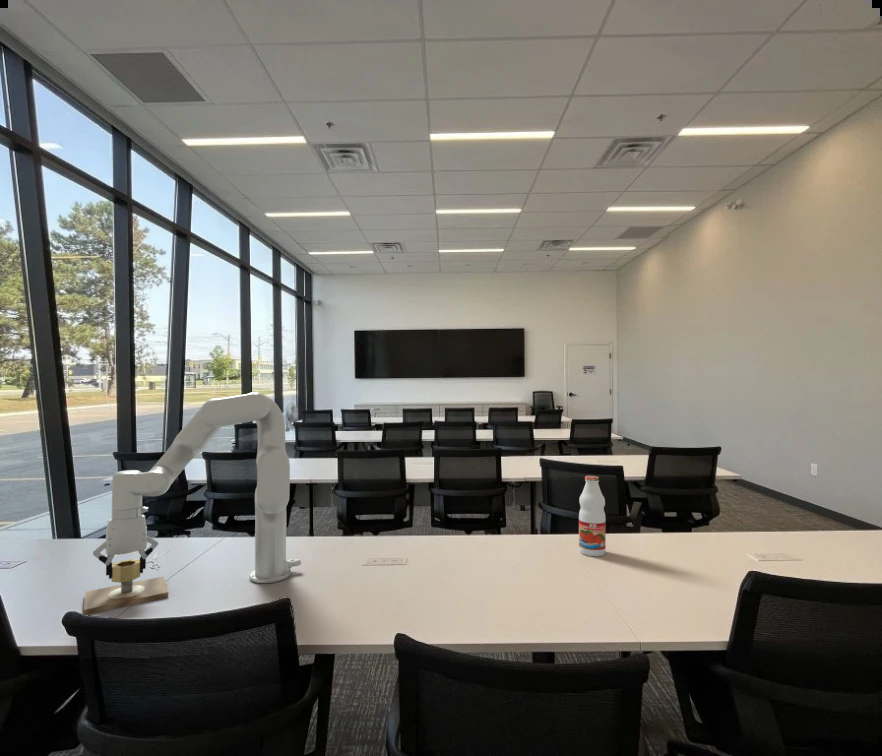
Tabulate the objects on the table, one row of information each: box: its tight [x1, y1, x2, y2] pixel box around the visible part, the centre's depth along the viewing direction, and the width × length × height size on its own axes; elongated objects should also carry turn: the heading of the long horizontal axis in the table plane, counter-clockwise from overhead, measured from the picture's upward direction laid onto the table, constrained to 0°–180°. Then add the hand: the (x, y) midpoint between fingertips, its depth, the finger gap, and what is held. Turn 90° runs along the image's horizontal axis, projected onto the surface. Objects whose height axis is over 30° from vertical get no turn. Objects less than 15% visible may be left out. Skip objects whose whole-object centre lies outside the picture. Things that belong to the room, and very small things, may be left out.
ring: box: [110, 558, 141, 584], centre depth 143 cm, size 7×7×4 cm
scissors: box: [146, 550, 169, 571], centre depth 173 cm, size 11×1×20 cm
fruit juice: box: [578, 475, 607, 557], centre depth 181 cm, size 9×9×28 cm
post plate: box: [83, 576, 169, 616], centre depth 143 cm, size 20×14×7 cm
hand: (126, 574), depth 143 cm, fingers closed on ring, 7 cm apart
